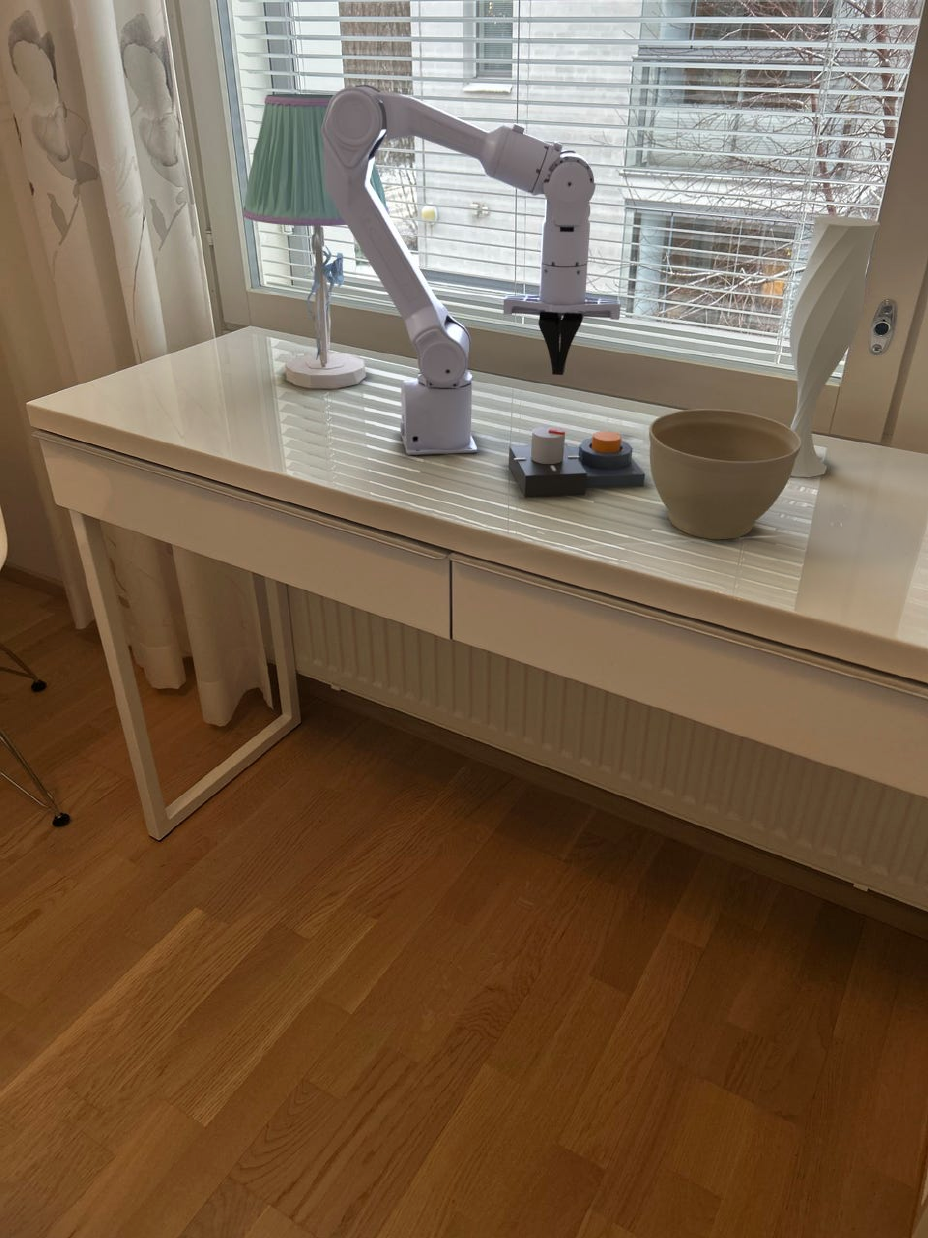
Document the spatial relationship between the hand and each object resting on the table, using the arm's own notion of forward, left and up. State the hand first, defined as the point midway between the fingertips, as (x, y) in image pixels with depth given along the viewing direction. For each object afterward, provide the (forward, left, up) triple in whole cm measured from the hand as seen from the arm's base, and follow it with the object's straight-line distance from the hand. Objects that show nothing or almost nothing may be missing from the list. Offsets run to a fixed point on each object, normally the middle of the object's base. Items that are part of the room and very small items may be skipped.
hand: (558, 372), depth 122 cm
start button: (+5, -9, -7) cm, 12 cm away
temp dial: (-4, -11, -7) cm, 14 cm away
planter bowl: (+13, -25, -11) cm, 30 cm away
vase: (+31, -9, -11) cm, 33 cm away
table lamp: (-29, +35, -11) cm, 47 cm away
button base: (+5, -9, -10) cm, 14 cm away
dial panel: (-4, -11, -10) cm, 16 cm away
